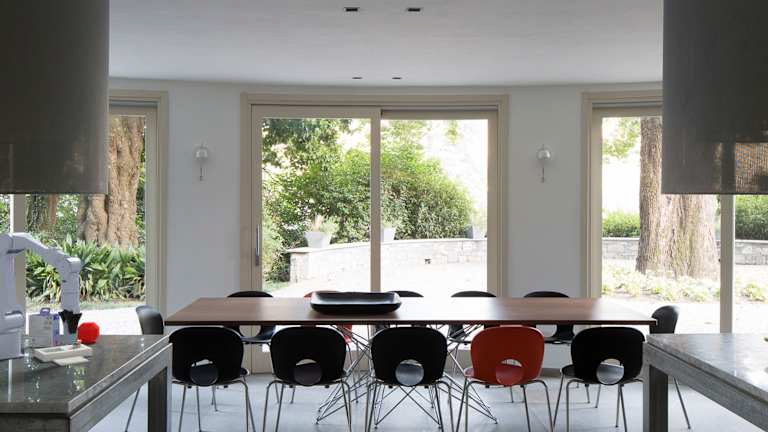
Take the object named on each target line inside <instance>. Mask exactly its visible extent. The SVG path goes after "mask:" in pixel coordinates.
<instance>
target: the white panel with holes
mask: <svg viewBox="0 0 768 432" xmlns="http://www.w3.org/2000/svg"><path fill="white" fill-rule="evenodd" d="M77 356H81V357H83V358H85V357H92V356H93V348H92V347H90V346H87V345H86V344H84V343H83V344H81V348H75V349H73V344H66V345H58V346H55V347H41V348H36V349H35V348H34V357H35V358H37V359H38V360H40V361H42V362H43V363H46V362H47V363H48V362H53V360H54V359H62V358H70V357H77Z"/></svg>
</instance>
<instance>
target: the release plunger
mask: <svg viewBox="0 0 768 432" xmlns="http://www.w3.org/2000/svg"><path fill="white" fill-rule="evenodd" d="M81 343H82V340H78V342H77V343H74V344H72V345H73V349H75V348H81Z"/></svg>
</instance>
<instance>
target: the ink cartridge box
mask: <svg viewBox="0 0 768 432" xmlns="http://www.w3.org/2000/svg"><path fill="white" fill-rule="evenodd" d="M45 310H46V311H45ZM60 321H61V317H60V315H59V314H58V312H57V313H56V312H55V313H51V307H41V308H40V310H39V313H33V314H29V315H28V343H27V345H28V348H50V347H59V346H61V345H60V344H61V341H60V340H61V339H60V337H61V334H60V333H61V332H60V330H61V328H60V323H61V322H60Z"/></svg>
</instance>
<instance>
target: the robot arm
mask: <svg viewBox="0 0 768 432" xmlns="http://www.w3.org/2000/svg"><path fill="white" fill-rule="evenodd" d="M26 250H29V251H31V252H33V253H35V254H36V255H39V256H41V257H42V261H43V262H44V263H46V264H48V265H50V266H51V267H52V268H55V269H56V271H57V273H58V275H59V276H58V277H59V278H58V279H60V309H61V310H62V311H58V312H57V313H58V314H59V315H60V321H62V322H61V323H62V324H63V322H65V320H67V324H68V331H69V334H75V333H76V332H77V328H78V327H79V322H80V320H81V318H82V316H83V312H81V308H83V307H84V305H83V304H80V273H81V271H82V270H83V266H84V265H83V261H82V260H81V258H79V257H78V256H70V254H69V253H65V252H63V251H61V250H60V248H59V247H58V246H52V247H51V246H50V247H48V246H46V245H45V244H43V243H42V242H41V241H39V240H37V239H36V238H34V237H33V235H32V234H30V233H28V232H27V231H21V232H20V231H19V232H17V231H16V232H1V233H0V360H8V359H15V358H22V357H23V358H24V357H25V354H23V353H22V347H21V346H22V343H21V342H22V339H21V338H22V337H21V335H22V334H21V333H22V331H23V328H24V326H25V325H26V322H27V318H26V317H27V316H26V315H25V313H24V308H23V307H22V306H21V305H20V304H19V303H18V302H17V301H18V299H17V290H16V276H15V266H14V259H15V258H16V257H17V256H18V255H19V254H20V253H23V252H24V251H26Z"/></svg>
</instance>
